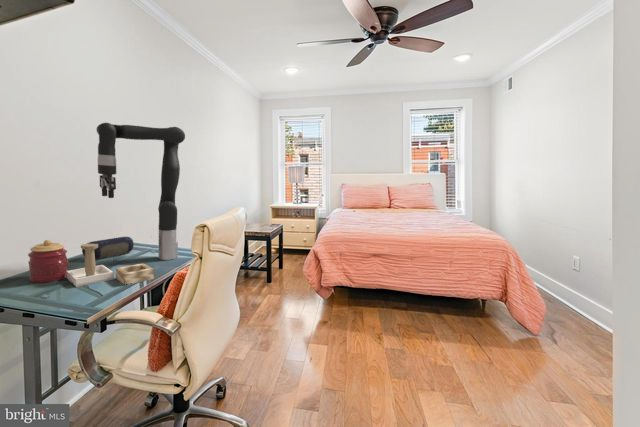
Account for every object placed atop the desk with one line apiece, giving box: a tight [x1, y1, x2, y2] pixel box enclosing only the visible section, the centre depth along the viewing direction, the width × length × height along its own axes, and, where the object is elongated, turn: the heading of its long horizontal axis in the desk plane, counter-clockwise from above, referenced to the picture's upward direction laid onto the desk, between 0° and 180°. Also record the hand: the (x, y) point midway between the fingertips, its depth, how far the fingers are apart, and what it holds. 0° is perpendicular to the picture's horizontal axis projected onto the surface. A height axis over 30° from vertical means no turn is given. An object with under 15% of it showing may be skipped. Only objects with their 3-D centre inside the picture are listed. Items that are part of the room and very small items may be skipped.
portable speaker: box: [81, 236, 135, 260], centre depth 171 cm, size 25×10×10 cm, turn 154°
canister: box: [27, 239, 69, 284], centre depth 134 cm, size 13×13×18 cm
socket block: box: [115, 263, 155, 286], centre depth 142 cm, size 12×11×5 cm
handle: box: [80, 243, 98, 277], centre depth 137 cm, size 5×6×15 cm
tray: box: [66, 264, 115, 288], centre depth 138 cm, size 14×14×4 cm
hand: (107, 197), depth 151 cm, fingers open, 8 cm apart
